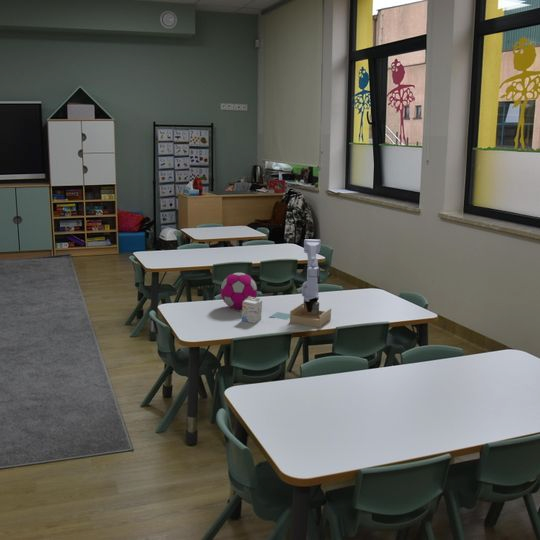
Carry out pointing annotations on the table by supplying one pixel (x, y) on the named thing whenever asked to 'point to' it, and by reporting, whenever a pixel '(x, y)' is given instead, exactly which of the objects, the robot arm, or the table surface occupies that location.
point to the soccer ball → (238, 289)
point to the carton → (309, 317)
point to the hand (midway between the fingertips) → (311, 310)
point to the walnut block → (314, 309)
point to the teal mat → (281, 315)
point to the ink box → (252, 310)
